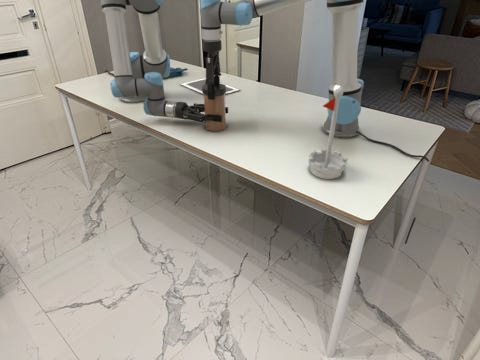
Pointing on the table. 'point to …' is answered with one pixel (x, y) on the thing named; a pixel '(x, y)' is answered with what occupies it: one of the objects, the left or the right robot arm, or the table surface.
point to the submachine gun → (176, 71)
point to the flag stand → (329, 148)
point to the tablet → (199, 83)
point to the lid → (218, 87)
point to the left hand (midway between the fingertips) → (224, 114)
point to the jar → (215, 112)
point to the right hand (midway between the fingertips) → (214, 95)
